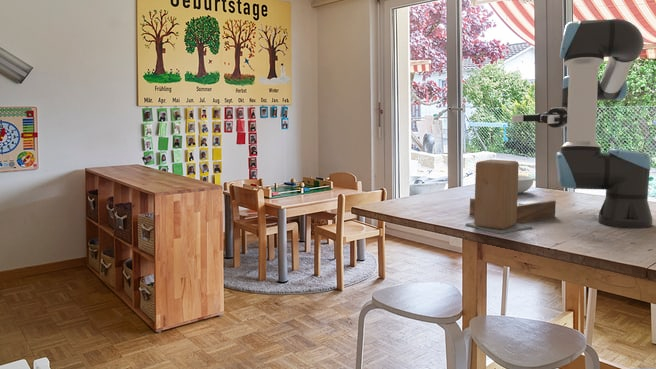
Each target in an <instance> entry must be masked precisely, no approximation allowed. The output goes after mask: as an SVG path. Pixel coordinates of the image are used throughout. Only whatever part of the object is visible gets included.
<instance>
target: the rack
mask: <svg viewBox="0 0 656 369" xmlns="http://www.w3.org/2000/svg"><path fill="white" fill-rule="evenodd" d="M536 202H537V203H530V204H523V205H519V204H517V218H516V223H519V224H522V223H527V222H532V221H538V220H539V221H540V220H544V219H550V218H555V217H556V206H557V205H556V203H557V202H556V200H552V199H551V200H547V201H536ZM474 211H475V197H471V198H469V215H473V216H474Z"/></svg>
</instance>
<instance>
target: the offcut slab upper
mask: <svg viewBox="0 0 656 369" xmlns="http://www.w3.org/2000/svg"><path fill="white" fill-rule="evenodd" d="M537 202H538V201H537V200H535V201H534V200H527V201H523V202H520V203H519V202H518V205H523V204H530V203H537Z"/></svg>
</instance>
